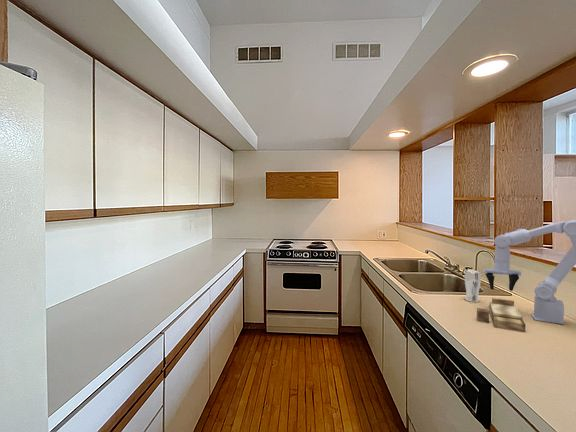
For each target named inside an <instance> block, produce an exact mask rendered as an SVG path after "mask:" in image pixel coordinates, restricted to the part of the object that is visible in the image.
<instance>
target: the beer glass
mask: <svg viewBox="0 0 576 432" xmlns="http://www.w3.org/2000/svg"><path fill="white" fill-rule="evenodd" d="M481 278H482V275H481V271H479V270H475V269H466V270H465V272H464V285H465V292H466V293H465V299H464V300H465V301H467V302H470V303H479V302H480V298H479V297H480V296H479V292H480V288H481V284H482V283H481V281H482V279H481Z"/></svg>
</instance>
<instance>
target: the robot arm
mask: <svg viewBox="0 0 576 432" xmlns="http://www.w3.org/2000/svg"><path fill="white" fill-rule="evenodd" d="M551 233H556V234H563V233H564V234H566V236H567V237H569V240H570V242H571V243H572V246H571V247H570V249H569V250H568V251H567V252H566V254H565V255H564V256H563V258H562V259H561V260H560V261H559V262H558V264H557V265H556V266H555V268H554V269H553V270H552V272H550V273H549V275H548V276H547V278H546V279H545V280H543V281H541V282H539V283H538V284H537V286H535V288H534V294H535V295H534V300H533V301H534V303H533V304H534V305H533V312H532V313H530V315H531V316H532V318H533V320H535V321H540V322H546V323H551V324H552V323H553V324H560V325H564V324H565V322H564V320H565V318H564V315H565V305H564V301H562V300H560V299H558V298H557V297H556V296H555V294H556V292H557V289H558V287H559V286H560V284H561V283H562V281H564V279H565V278H566V277H567V276H568V274H569V273H570V272H571V271H572V269H573V268H574V267H575V266H576V219H571V220H568V221H567V220H565V221H558V222H553V223H549V224H546V225H543V226H540V227H536V228H531V229H530V230H528V229H526V228H517V229H516V230H515V231H510V232H508V231H507V232H504V234H499V235H497V236H495V238H494V240H493V243H494V245H495V246H494V247H495V249H494V268H483V270H482V271H483V274H484V275H485V277H486V278H487V281H488V284H489V289H490V290H492V291H494V287H495V285H494V281H495V277H496V276H495V275H508V280H509V282H508V290H509V291H510V292H513V290H514V287H515V285H516V283H517V282H518V280H519V279H520V276H522V271H521V270H514V269H510V267H511V265H510V264H511V246H516V245H519V244H523V243H527V242H530V241H531V239H532V238H533V237H539V236H542V235H547V234H551Z"/></svg>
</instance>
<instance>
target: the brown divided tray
mask: <svg viewBox="0 0 576 432" xmlns="http://www.w3.org/2000/svg"><path fill="white" fill-rule="evenodd" d="M488 311H489V317H490V318H491V322H492V325H493V327H494V328H499V329H504V330H510V331H515V332H516V331H517V332H522V333H526V323H525V320H524V319H523V318H522V319H517V318H510V317H503V316H497V315H493V312H492V309H491V306H490V304H489V305H488Z"/></svg>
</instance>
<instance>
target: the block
mask: <svg viewBox="0 0 576 432" xmlns="http://www.w3.org/2000/svg"><path fill="white" fill-rule="evenodd" d="M476 321H477V322H481V323H485V324H486V323H487V324H489V323H490V313H489V308H488V309H487V308H479V307H477V308H476Z"/></svg>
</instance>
